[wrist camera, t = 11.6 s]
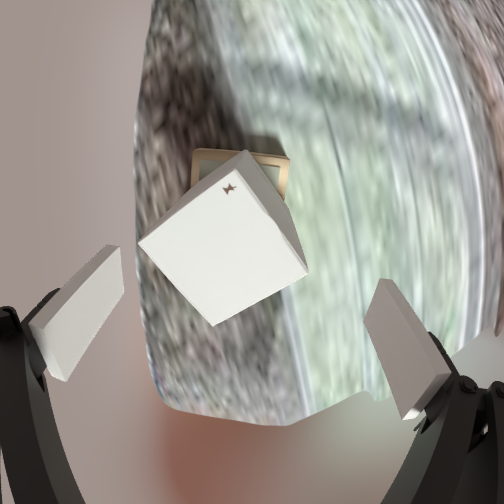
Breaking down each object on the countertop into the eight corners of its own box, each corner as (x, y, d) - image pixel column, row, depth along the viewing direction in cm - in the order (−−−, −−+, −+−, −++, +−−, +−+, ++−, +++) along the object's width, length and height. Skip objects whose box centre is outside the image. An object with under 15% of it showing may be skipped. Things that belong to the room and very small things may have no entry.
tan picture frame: (200, 147, 34) (192, 150, 30) (286, 156, 34) (290, 160, 30) (195, 228, 39) (187, 240, 35) (275, 237, 39) (276, 250, 35)
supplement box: (183, 192, 32) (131, 241, 19) (246, 146, 30) (234, 162, 16) (229, 251, 35) (210, 330, 22) (291, 211, 33) (312, 274, 19)
